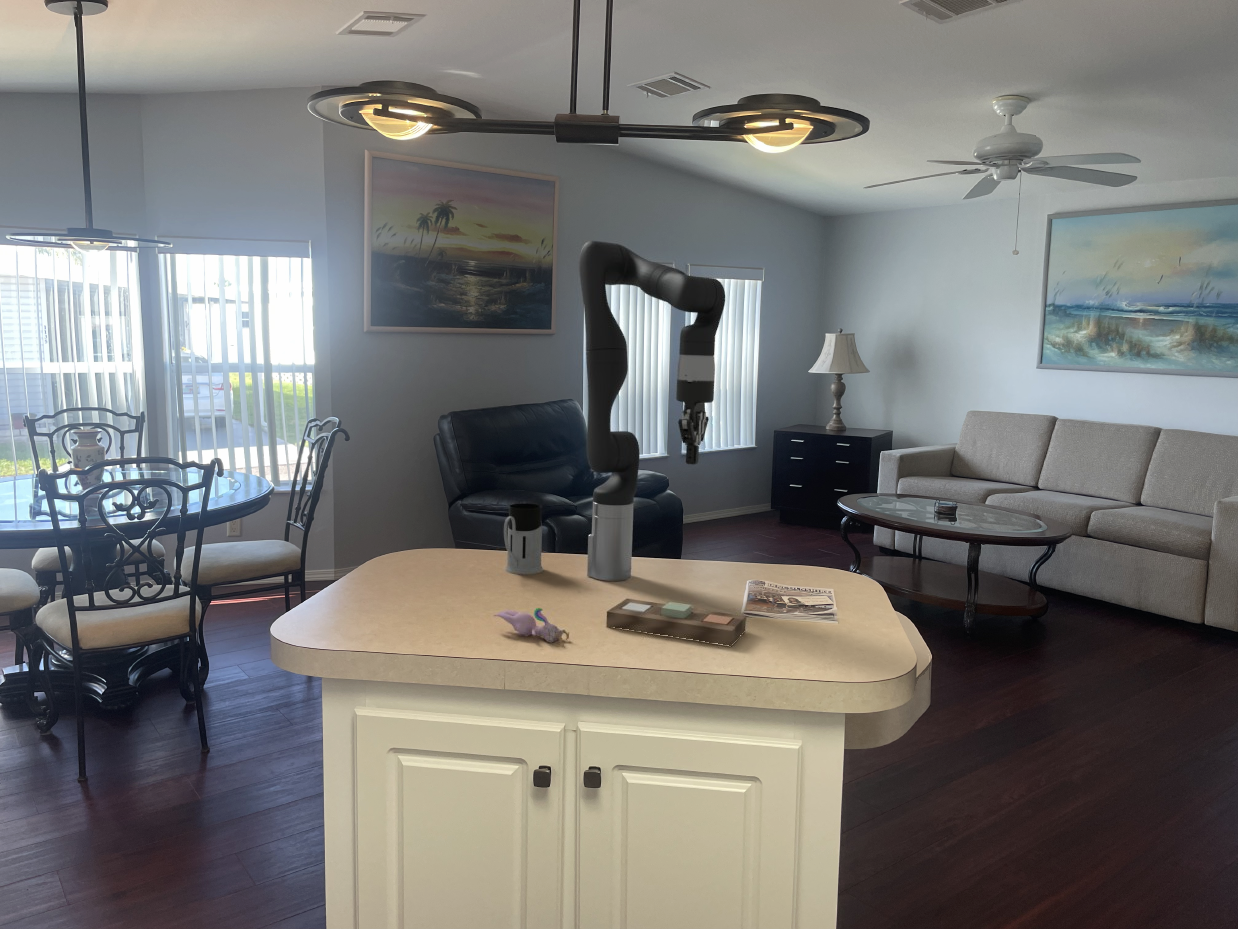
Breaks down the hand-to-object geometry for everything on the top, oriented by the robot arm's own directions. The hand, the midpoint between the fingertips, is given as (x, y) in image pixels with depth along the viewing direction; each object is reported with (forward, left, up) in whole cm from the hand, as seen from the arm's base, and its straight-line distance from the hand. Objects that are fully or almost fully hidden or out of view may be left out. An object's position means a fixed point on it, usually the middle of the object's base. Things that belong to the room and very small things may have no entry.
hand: (691, 463), depth 182 cm
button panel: (+4, -18, -29) cm, 34 cm away
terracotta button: (+12, -18, -29) cm, 36 cm away
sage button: (+4, -18, -27) cm, 33 cm away
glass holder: (-42, +5, -29) cm, 51 cm away
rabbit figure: (-18, -34, -29) cm, 49 cm away
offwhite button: (-4, -18, -29) cm, 34 cm away
